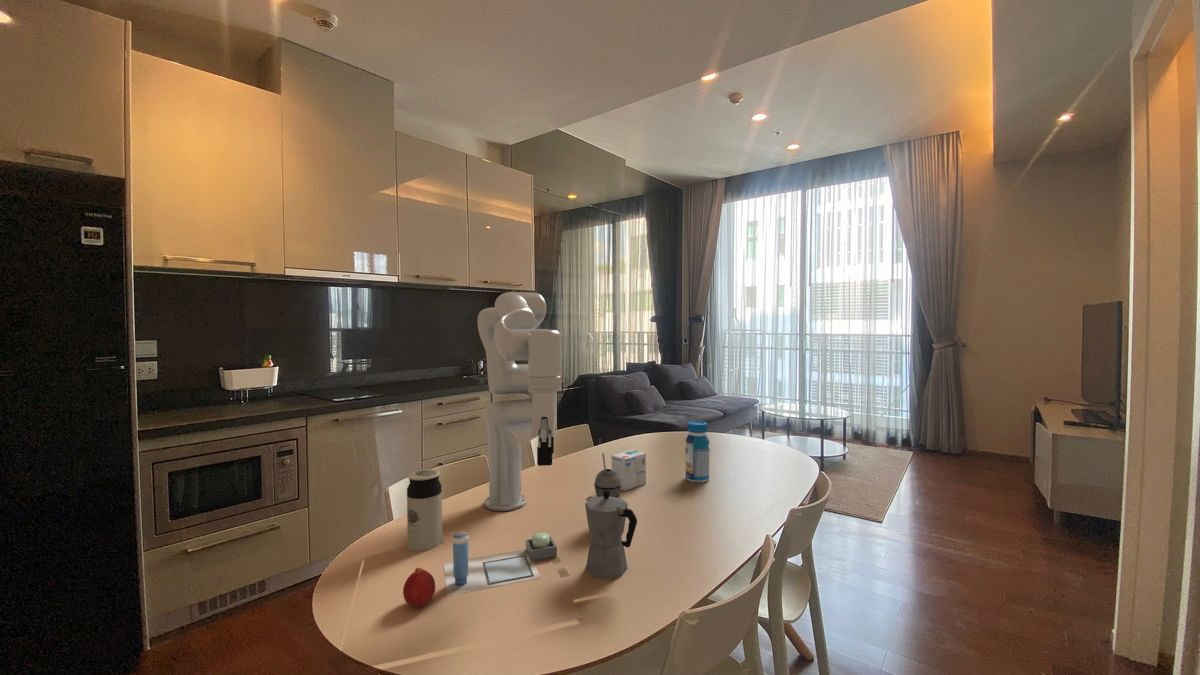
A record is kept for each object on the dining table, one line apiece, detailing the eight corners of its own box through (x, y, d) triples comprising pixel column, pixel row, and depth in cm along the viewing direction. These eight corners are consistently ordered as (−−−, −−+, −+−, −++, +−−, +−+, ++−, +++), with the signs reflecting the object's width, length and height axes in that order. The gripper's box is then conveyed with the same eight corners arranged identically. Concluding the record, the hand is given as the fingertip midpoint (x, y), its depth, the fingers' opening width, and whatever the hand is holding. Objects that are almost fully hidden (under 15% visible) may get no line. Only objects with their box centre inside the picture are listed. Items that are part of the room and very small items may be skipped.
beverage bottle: (704, 484, 161) (704, 426, 160) (681, 480, 165) (681, 423, 165) (713, 477, 168) (713, 421, 167) (690, 473, 172) (690, 419, 172)
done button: (530, 544, 112) (530, 534, 112) (547, 541, 113) (547, 531, 113) (534, 551, 108) (534, 541, 108) (551, 548, 110) (551, 538, 110)
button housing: (525, 550, 113) (525, 539, 113) (550, 546, 115) (550, 535, 115) (531, 562, 107) (531, 550, 107) (556, 557, 109) (556, 546, 109)
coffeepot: (571, 567, 106) (570, 487, 105) (601, 553, 112) (601, 478, 112) (620, 595, 95) (620, 506, 94) (651, 578, 101) (650, 494, 101)
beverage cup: (619, 534, 123) (618, 457, 122) (591, 531, 124) (591, 456, 124) (623, 522, 130) (623, 450, 129) (597, 520, 131) (596, 449, 131)
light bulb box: (632, 479, 167) (632, 449, 166) (646, 484, 162) (646, 452, 162) (610, 486, 160) (610, 454, 159) (625, 491, 155) (624, 458, 154)
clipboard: (439, 564, 107) (439, 561, 107) (550, 545, 116) (550, 542, 116) (441, 603, 92) (441, 598, 92) (569, 578, 101) (569, 574, 101)
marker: (452, 580, 99) (452, 533, 99) (468, 577, 100) (467, 531, 100) (453, 588, 96) (453, 539, 96) (469, 585, 97) (468, 537, 97)
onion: (409, 599, 94) (408, 559, 93) (438, 598, 94) (438, 558, 94) (399, 617, 88) (398, 575, 88) (430, 616, 88) (430, 573, 88)
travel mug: (433, 535, 122) (432, 466, 122) (448, 546, 116) (447, 473, 116) (402, 546, 117) (401, 473, 116) (416, 557, 111) (415, 481, 110)
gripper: (531, 380, 116) (532, 450, 116) (524, 388, 98) (525, 470, 99) (562, 379, 116) (562, 449, 116) (561, 388, 99) (561, 469, 99)
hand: (545, 459), depth 107 cm, fingers open, 9 cm apart
